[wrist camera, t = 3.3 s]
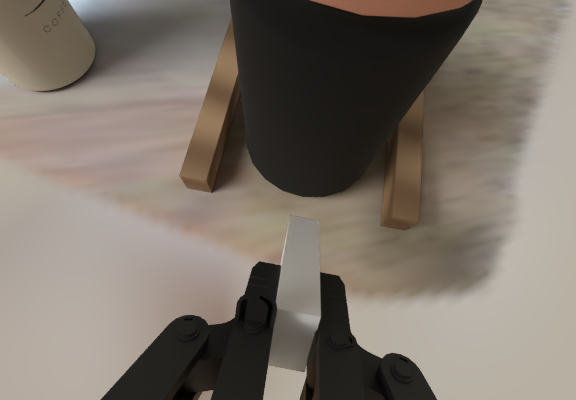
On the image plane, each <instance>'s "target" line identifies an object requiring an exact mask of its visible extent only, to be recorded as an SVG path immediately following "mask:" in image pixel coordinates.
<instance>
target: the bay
mask: <svg viewBox="0 0 576 400" xmlns="http://www.w3.org/2000/svg"><path fill="white" fill-rule="evenodd" d="M240 92H241V91H240V83H239V74H238V65H237V57H236V48H235V40H234V31H233V22H232V18H231V21H230V24H229V27H228V30H227V33H226V36H225V39H224V42H223V45H222V48H221V51H220V54H219V57H218V60H217V63H216V66H215V69H214V72H213V75H212V78H211V81H210V84H209V87H208V90H207V93H206V96H205V99H204V102H203V106H202V109H201V112H200V115H199V118H198V121H197V124H196V127H195V130H194V133H193V136H192V139H191V142H190V145H189V148H188V151H187V154H186V157H185V160H184V163H183V166H182V169H181V172H180V175H179V176H180V177H181V179H182V180H183V182H184V183H185V185H186V187H187V188H190V189H195V190H200V191H205V192H211V193H212V190H213V186H214V183H215V179H216V176H217V172H218V169H219V165H220V162H221V158H222V155H223V151H224V148H225V144H226V141H227V137H228V134H229V130H230V127H231V123H232V120H233V116H234V113H235V109H236V106H237V102H238V99H239V95H240ZM423 108H424V90H423V91H422V92H421V94H420V95H419V97H418V98H417V99H416V101H415V102H414V103H413V105H412V106H411V108H410V109H409V110H408V112H407V113H406V115H405V116H404V117H403V119H402V120H401V121H400V123H399V124H398V126H397V127H396V128H395V130H394V131H393V133H392V134H391V135H390V137H389V138H388V143H387V155H386V167H385V179H384V192H383V204H382V216H381V226H385V227H390V228H396V229H401V230H406V229H408V228H410V227H412V226H413V225H415V224H417V223H419V214H420V188H421V161H422V134H423Z"/></svg>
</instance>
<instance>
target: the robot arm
mask: <svg viewBox="0 0 576 400" xmlns="http://www.w3.org/2000/svg"><path fill="white" fill-rule="evenodd" d="M345 294H346V293H345V285H344V283H343V282H342V280H341V279H340V277H339V276H336V275H331V274H326V273H321V272H320V253H319V220H313V219H308V218H303V217H298V216H293V215H290V219H289V224H288V229H287V234H286V239H285V244H284V249H283V254H282V259H281V265H275V264H270V263H265V262H260V261H259V262H258V263H257V264H256V265H255V266H254V267H253V268H252V271H251V274H250V278H249V281H248V285H247V288H246V291H245V294H244V295H243V296H242V297H240V299H239V300H238V302H237V307H236V314H235V318H234V319H232V320H231V321H228V322H226V323H222V324H216V325H208V324H207V322H206V321H205V320H204V319H202V318H201V317H199V316H194V315H185V316H182V317H179V318H176V319H175V320H174V321H172V322H171V323H170V324H169V325H168V326H167V327H166V328H165V329H164V330H163V332H162V333H161V334H160V335H159V336H158V337H157V338H156V339H155V340H154V341H153V343H152V344H151V345H150V346H149V347H148V348H147V349H146V350H145V351H144V353H143V354H142V355H141V356H140V357H139V358H138V359H137V360H136V362H134V364H133V365H132V366H131V367H130V368H129V369H128V370H127V371H126V373H125V374H124V375H123V376H122V377H121V378H120V379H119V380H118V381H117V382H116V383H115V385H114V386H113V387H112V388H111V389H110V390H109V391H108V392H107V394H105V396H104V397H103V398H102V399H101V400H198V398H199V397H200V395H201V394H202V391H208V390H214V391H213V394H212V397H211V400H263V395H264V388H265V381H266V374H267V368H268V365H270V366H275V367H280V368H285V369H291V370H296V371H301V372H305V369H306V366H307V377H306V380H305V383H304V386H303V390H302V393H301V397H300V400H437V399H436V397H435V395H434V393H433V392H432V390H431V388H430V386H429V385H428V383H427V381H426V379H425V378H424V376H423V374H422V372H421V371H420V369H419V368H418V367H417V366H416V364H415V363H413V362H412V361H411V360H410V359H409V358H407V357H405V356H403V355H401V354H396V353H390V354H386V355H385V356H384V357H383V358H380V357H378V356H375V355H373V354H371V353H369V352H367V351H366V350H364V349H363V348H361V347H360V346H359V345H358V344H357V341H356V339H355V337H354V336H353V335H352V333H351V331H350V324H349V317H348V308H347V303H346V302H347V301H346V295H345Z"/></svg>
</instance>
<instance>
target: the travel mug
mask: <svg viewBox="0 0 576 400" xmlns="http://www.w3.org/2000/svg"><path fill="white" fill-rule="evenodd" d="M94 57H95V44H94V41H93V39H92V37H91V36H90V34H89V32H88V31H87V29H86V28H85V26H84V25H83V23H82V22H81V20H80V18H79V17H78V15H77V14H76V12H75V11H74V9H73V8H72V6H71V4H70V3H69V1H68V0H0V73H1V74H2V75H3V76H4V77H5V78H7V79H8V80H9V81H10V82H11V83H13V84H14V85H16V86H18V87H20V88H23V89H27V90H32V91H47V90H54V89H58V88H61V87H64V86H66V85H68V84H70V83H72V82H74V81H76V80H77V79H79V78H80V77H81V76H82V75H83V74H84V73H85V72H86V71H87V70H88V69H89V67H90V66H91V64H92V62H93V60H94Z"/></svg>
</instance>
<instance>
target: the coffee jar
mask: <svg viewBox="0 0 576 400" xmlns="http://www.w3.org/2000/svg"><path fill="white" fill-rule="evenodd" d="M481 4H482V0H230V5H231V14H232V22H233V31H234V40H235V48H236V57H237V65H238V74H239V83H240V91H241V100H242V109H243V117H244V126H245V134H246V143H247V148H248V151H249V154H250V156H251V159H252V162H253V164H254V165H255V167H256V168H257V169H258V171H259V172H260V173H261V174H262V176H263V177H264V178H265V179H266V180H267V181H269V182H270V183H272V184H273V185H275V186H276V187H278V188H279V189H281V190H282V191H286V192H289V193H292V194H295V195H299V196H302V197H325V196H328V195H331V194H334V193H337V192H341V191H343V190H345V189H346V188H348V187H349V186H350V185H352V184H353V183H354V182H356V181H357V180H358V179H359V178H360V177H361V175H362V174H363V173H364V171H365V170H366V169H367V167H368V166H369V164H370V163H371V162H372V160H373V159H374V157H375V156H376V155H377V153H378V152H379V151H380V149H381V148H382V146H383V145H384V144H385V142H386V141H387V139H388V138H389V137H390V135H391V134H392V133H393V131H394V130H395V128H396V127H397V126H398V124H399V123H400V121H401V120H402V119H403V117H404V116H405V115H406V113H407V112H408V110H409V109H410V108H411V106H412V105H413V103H414V102H415V101H416V99H417V98H418V97H419V95H420V94H421V92H422V91H423V90H424V88H425V87H426V85H427V84H428V83H429V81H430V80H431V79H432V77H433V76H434V74H435V73H436V72H437V70H438V69H439V67H440V66H441V65H442V63H443V62H444V61H445V59H446V58H447V56H448V55H449V54H450V52H451V51H452V50H453V48H454V47H455V45H456V44H457V43H458V41H459V40H460V38H461V37H462V35H463V34H464V32H465V31H466V29H467V28H468V26H469V25H470V23H471V22H472V20H473V19H474V17H475V16H476V14H477V13H478V10H479V8H480V6H481Z"/></svg>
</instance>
